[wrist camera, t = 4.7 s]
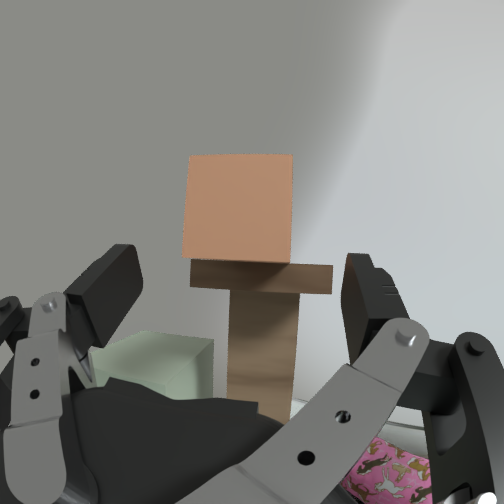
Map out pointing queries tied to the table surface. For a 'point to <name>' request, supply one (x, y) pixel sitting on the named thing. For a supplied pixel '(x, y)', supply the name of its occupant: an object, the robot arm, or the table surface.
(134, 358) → the sage block
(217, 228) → the peach wooden plank
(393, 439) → the table surface
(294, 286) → the walnut stand
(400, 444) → the table surface
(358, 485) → the pencil case
